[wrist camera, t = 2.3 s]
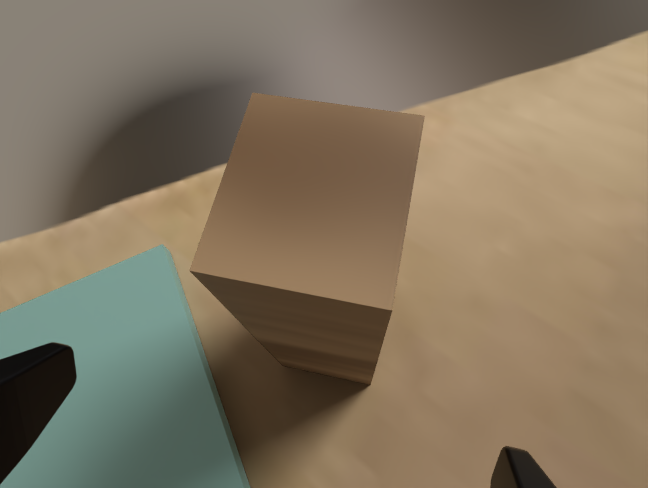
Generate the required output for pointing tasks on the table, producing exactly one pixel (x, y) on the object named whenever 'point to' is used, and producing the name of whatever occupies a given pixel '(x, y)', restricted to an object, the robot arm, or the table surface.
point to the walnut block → (313, 230)
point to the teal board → (126, 385)
